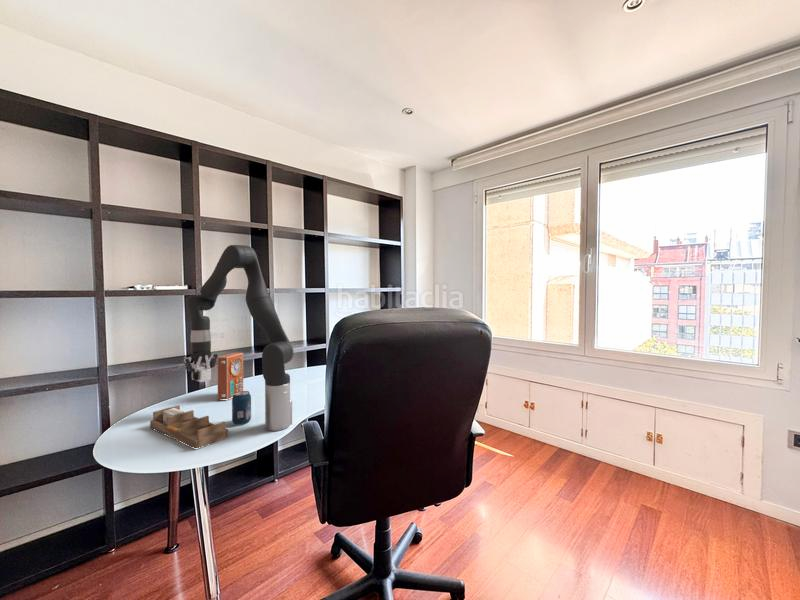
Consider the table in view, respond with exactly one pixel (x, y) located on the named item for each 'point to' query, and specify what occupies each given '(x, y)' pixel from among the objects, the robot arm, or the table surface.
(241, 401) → the soda can
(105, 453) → the table surface
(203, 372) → the white rectangular block
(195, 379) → the robot arm
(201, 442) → the rack
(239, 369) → the control panel
